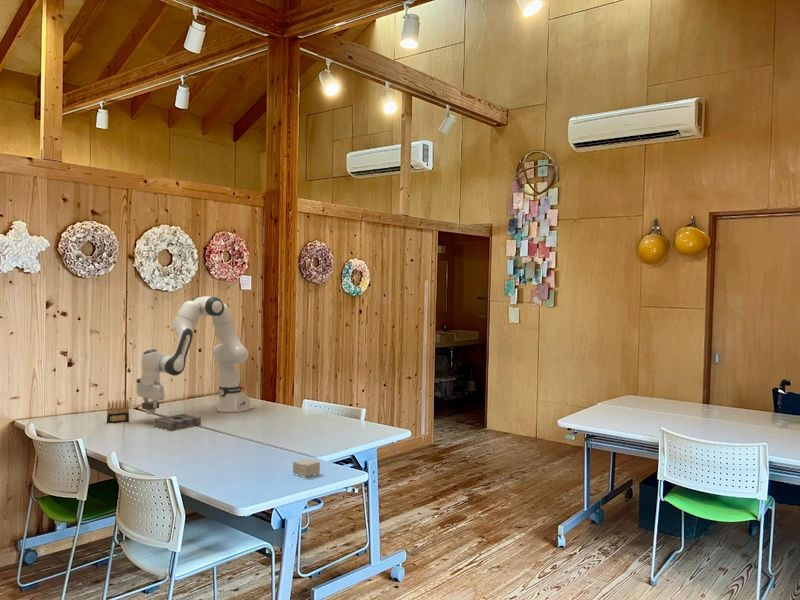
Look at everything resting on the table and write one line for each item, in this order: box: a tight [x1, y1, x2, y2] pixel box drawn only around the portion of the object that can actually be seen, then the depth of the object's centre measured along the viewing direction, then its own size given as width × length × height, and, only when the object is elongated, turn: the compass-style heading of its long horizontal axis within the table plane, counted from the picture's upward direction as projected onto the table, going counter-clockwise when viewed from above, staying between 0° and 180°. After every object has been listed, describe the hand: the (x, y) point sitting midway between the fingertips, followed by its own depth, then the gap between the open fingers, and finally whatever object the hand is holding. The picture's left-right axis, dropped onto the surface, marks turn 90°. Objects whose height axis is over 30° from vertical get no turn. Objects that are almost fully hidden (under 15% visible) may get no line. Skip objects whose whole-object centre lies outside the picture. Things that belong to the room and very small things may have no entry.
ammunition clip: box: [106, 399, 130, 424], centre depth 332 cm, size 11×2×12 cm, turn 121°
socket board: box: [153, 413, 202, 432], centre depth 328 cm, size 18×14×5 cm
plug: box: [141, 400, 160, 415], centre depth 333 cm, size 6×6×6 cm
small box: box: [292, 458, 321, 478], centre depth 252 cm, size 8×8×5 cm
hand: (150, 406), depth 333 cm, fingers closed on plug, 5 cm apart
